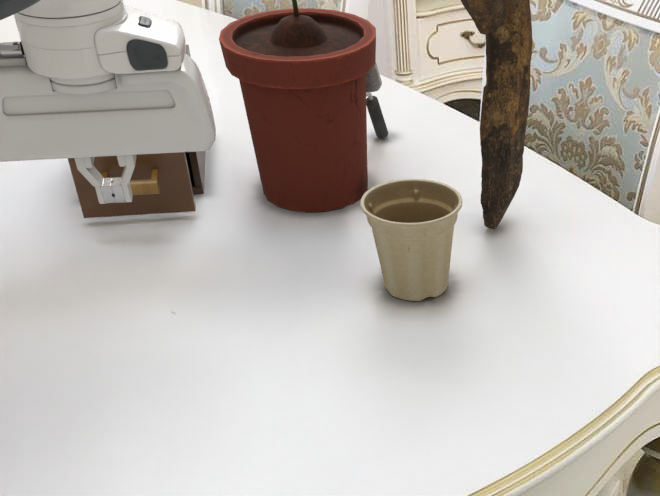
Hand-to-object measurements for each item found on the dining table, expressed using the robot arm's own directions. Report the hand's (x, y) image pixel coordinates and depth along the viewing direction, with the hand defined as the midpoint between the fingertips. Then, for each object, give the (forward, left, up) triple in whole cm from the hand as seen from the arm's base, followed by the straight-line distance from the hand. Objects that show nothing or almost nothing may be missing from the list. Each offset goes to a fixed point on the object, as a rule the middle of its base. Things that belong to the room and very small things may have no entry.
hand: (116, 200), depth 103 cm
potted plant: (+21, +19, -8) cm, 30 cm away
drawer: (0, +16, -7) cm, 18 cm away
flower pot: (+27, -6, -8) cm, 29 cm away
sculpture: (+36, +5, -8) cm, 37 cm away
